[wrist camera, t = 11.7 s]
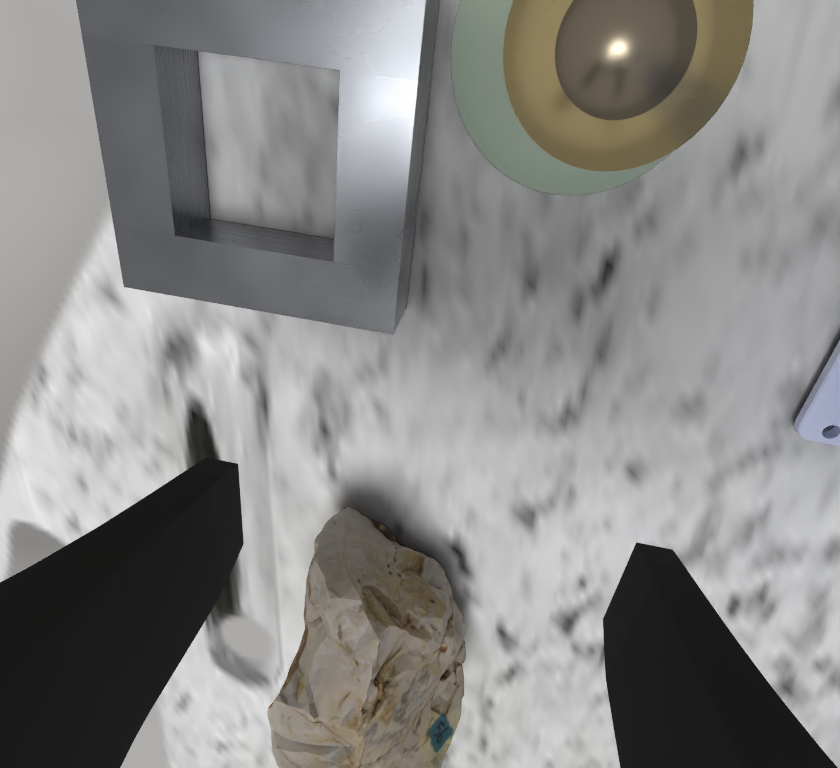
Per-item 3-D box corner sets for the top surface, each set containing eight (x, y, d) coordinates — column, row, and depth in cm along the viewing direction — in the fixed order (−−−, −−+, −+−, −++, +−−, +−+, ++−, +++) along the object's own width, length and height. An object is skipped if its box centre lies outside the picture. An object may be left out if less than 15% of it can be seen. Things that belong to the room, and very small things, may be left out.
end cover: (676, -22, 13) (806, -97, 7) (630, 139, 15) (702, 189, 9) (528, -40, 14) (529, -126, 8) (500, 120, 16) (483, 156, 9)
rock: (469, 718, 29) (410, 934, 19) (351, 681, 30) (243, 861, 21) (499, 497, 26) (448, 619, 17) (369, 470, 28) (255, 567, 18)
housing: (440, -7, 15) (427, -18, 13) (406, 308, 19) (393, 334, 17) (122, -46, 15) (66, -61, 14) (162, 266, 20) (124, 286, 18)
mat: (776, -100, 13) (782, -104, 12) (671, 209, 16) (675, 212, 16) (474, -131, 13) (472, -136, 13) (437, 174, 17) (435, 176, 17)
